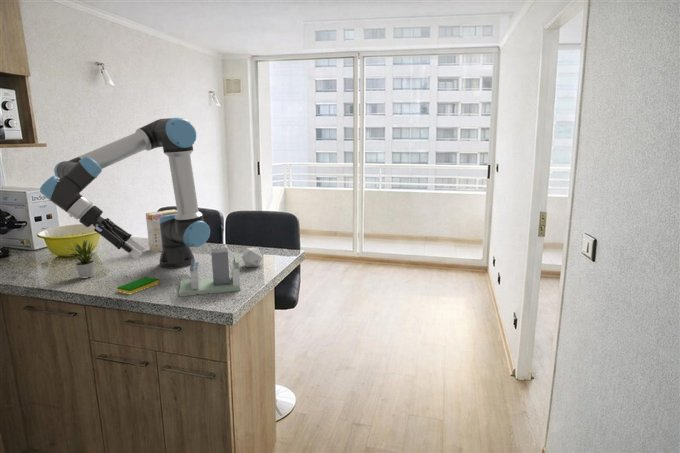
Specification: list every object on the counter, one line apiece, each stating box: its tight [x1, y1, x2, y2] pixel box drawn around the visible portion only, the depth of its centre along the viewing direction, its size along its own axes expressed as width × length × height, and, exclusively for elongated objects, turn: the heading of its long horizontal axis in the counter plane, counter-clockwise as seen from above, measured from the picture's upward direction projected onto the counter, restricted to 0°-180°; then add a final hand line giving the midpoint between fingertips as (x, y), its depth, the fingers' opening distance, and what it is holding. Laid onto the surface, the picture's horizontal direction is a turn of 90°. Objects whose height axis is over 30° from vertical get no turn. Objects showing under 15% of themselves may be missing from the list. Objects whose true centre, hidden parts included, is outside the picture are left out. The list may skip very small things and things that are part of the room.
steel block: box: [210, 247, 230, 286], centre depth 171 cm, size 6×6×13 cm
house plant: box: [65, 238, 98, 278], centre depth 185 cm, size 14×14×16 cm
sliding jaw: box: [189, 258, 201, 290], centre depth 169 cm, size 13×2×8 cm, turn 15°
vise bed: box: [178, 253, 241, 297], centre depth 171 cm, size 14×22×11 cm, turn 105°
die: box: [241, 247, 263, 268], centre depth 198 cm, size 8×9×10 cm
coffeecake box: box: [145, 209, 177, 253], centre depth 229 cm, size 15×7×20 cm, turn 133°
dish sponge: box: [116, 276, 160, 293], centre depth 172 cm, size 7×14×2 cm, turn 155°
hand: (140, 253), depth 162 cm, fingers open, 7 cm apart
